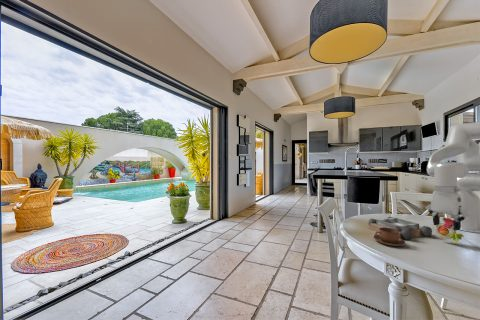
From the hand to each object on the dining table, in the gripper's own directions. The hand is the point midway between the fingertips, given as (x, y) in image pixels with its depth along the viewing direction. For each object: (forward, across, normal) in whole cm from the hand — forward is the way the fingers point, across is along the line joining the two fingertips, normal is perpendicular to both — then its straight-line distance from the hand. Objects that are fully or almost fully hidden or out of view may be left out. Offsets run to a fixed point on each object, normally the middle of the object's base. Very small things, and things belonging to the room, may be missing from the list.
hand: (446, 226), depth 95 cm
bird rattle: (+6, -1, 0) cm, 6 cm away
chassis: (+8, +18, +6) cm, 20 cm away
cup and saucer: (+7, +8, +26) cm, 28 cm away
